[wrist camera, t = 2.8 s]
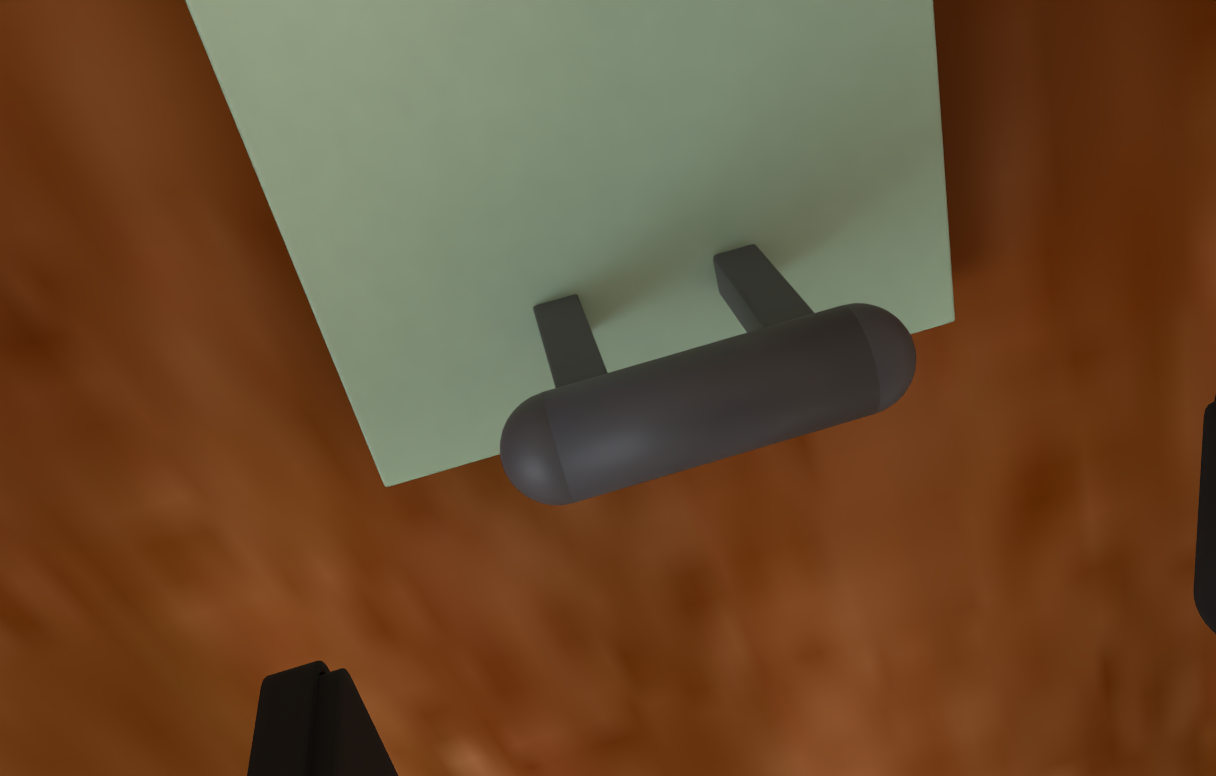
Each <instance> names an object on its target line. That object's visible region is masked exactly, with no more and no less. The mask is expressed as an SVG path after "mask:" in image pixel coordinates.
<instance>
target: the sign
mask: <svg viewBox="0 0 1216 776" xmlns="http://www.w3.org/2000/svg"><path fill="white" fill-rule="evenodd" d="M185 1H186V4H187V6H188V8H189V11H190V13H191V16H192V18H193V21H194V23H195V26H196V28H197V30H198V33H199V35H200V38H201V40H202V43H203V45H204V47H205V50H206V52H207V55H208V57H209V60H210V62H211V65H212V67H213V69H214V72H215V74H216V77H217V79H218V82H219V84H220V86H221V89H222V91H223V94H224V96H225V99H226V101H227V104H228V106H229V108H230V111H231V113H232V116H233V118H234V121H235V123H236V125H237V128H238V130H239V133H240V135H241V138H242V140H243V143H244V145H245V147H246V150H247V152H248V155H249V157H250V160H251V162H252V164H253V167H254V169H255V172H256V174H257V177H258V179H259V181H260V184H261V186H262V189H263V191H264V194H265V196H266V199H267V201H268V203H269V206H270V208H271V211H272V213H273V216H274V218H275V220H276V223H277V225H278V228H279V230H280V233H281V235H282V238H283V240H284V242H285V245H286V247H287V250H288V252H289V255H290V257H291V259H292V262H293V264H294V267H295V269H296V272H297V274H298V277H299V279H300V281H301V284H302V286H303V289H304V291H305V294H306V296H307V298H308V301H309V303H310V306H311V308H312V311H313V313H314V316H315V318H316V320H317V323H318V325H319V328H320V330H321V333H322V335H323V337H324V340H325V342H326V345H327V347H328V350H329V352H330V354H331V357H332V359H333V362H334V364H335V367H336V369H337V372H338V374H339V376H340V379H341V381H342V384H343V386H344V389H345V391H346V393H347V396H348V398H349V401H350V403H351V406H352V408H353V411H354V413H355V415H356V418H357V420H358V423H359V425H360V428H361V430H362V432H363V435H364V437H365V440H366V442H367V445H368V447H369V450H370V452H371V454H372V457H373V459H374V462H375V464H376V467H377V469H378V471H379V474H380V476H381V479H382V481H383V484H384V485H385V486H386V487H389V486H392V485H396V484H399V483H403V482H406V481H410V480H413V479H416V478H420V477H423V476H427V475H430V474H434V473H437V472H440V471H444V470H447V469H451V468H454V467H458V466H461V465H464V464H468V463H471V462H475V461H478V460H481V459H485V458H488V457H492V456H495V455H499V454H500V456H501V461H502V465H503V468H504V470H505V473H506V475H507V476H508V478H509V479H510V481H511V483H512V484H513V485H514V486H515V487H516V488H517V489H518V490H519V491H520V492H521V493H523V494H524V495H526V496H527V497H529V498H530V499H533V500H535V501H537V502H540V503H544V504H549V505H565V504H570V503H574V502H578V501H581V500H585V499H588V498H591V497H595V496H598V495H602V494H605V493H608V492H612V491H615V490H619V489H622V488H625V487H629V486H632V485H635V484H639V483H642V482H646V481H649V480H652V479H656V478H659V477H663V476H666V475H669V474H673V473H676V472H679V471H683V470H686V469H690V468H693V467H696V466H700V465H703V464H707V463H710V462H713V461H717V460H720V459H724V458H727V457H730V456H734V455H737V454H740V453H744V452H747V451H751V450H754V449H757V448H761V447H764V446H768V445H771V444H774V443H778V442H781V441H784V440H788V439H791V438H795V437H798V436H801V435H805V434H808V433H812V432H815V431H818V430H822V429H825V428H828V427H832V426H835V425H839V424H842V423H845V422H849V421H852V420H856V419H859V418H862V417H866V416H869V415H873V414H876V413H878V412H880V411H883V410H885V409H887V408H888V407H890V406H891V405H893V404H894V403H896V402H897V401H898V400H899V399H900V398H901V397H902V396H903V395H904V393H905V392H906V390H907V388H908V387H909V385H910V384H911V381H912V378H913V376H914V373H915V366H916V351H915V346H914V343H913V340H912V337H911V335H910V334H913V333H916V332H920V331H923V330H926V329H930V328H933V327H937V326H940V325H943V324H947V323H950V322H953V321H954V320H955V314H954V299H953V285H952V270H951V256H950V241H949V226H948V212H947V197H946V183H945V168H944V154H943V139H942V125H941V110H940V95H939V81H938V66H937V52H936V37H935V23H934V8H933V0H185Z"/></svg>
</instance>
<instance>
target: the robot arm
mask: <svg viewBox="0 0 1216 776" xmlns="http://www.w3.org/2000/svg"><path fill="white" fill-rule="evenodd" d="M1194 600H1195V604H1196V607H1197V609H1198V611H1199V614H1200V616H1201V617H1202V619H1203V620H1204V622H1205V623H1206V624H1207V625H1208V626H1209V628H1210V629H1211V630H1212V631H1213V632H1214V633H1215V634H1216V396H1215V400H1214V402H1213V403H1211V404H1209V405H1208V406H1207V408H1206V409H1205V414H1204V424H1203V441H1202V458H1201V475H1200V491H1199V508H1198V525H1197V542H1196V559H1195V576H1194ZM247 776H398V774H397V772H396V770H395V768H394V766H393V764H392V762H391V760H390V757H389V755H388V753H387V751H386V749H385V747H384V745H383V743H382V741H381V739H380V737H379V735H378V732H377V730H376V728H375V726H374V724H373V722H372V720H371V718H370V716H369V714H368V712H367V709H366V707H365V705H364V703H363V701H362V699H361V697H360V695H359V693H358V691H357V689H356V686H355V684H354V682H353V680H352V678H351V676H350V675H349V673H348V671H347V670H346V669H343V668H342V669H338V670H335V671H332V672H330V671H329V669H328V667H327V666H326V664H325V663H323V662H322V661H315V662H312V663H309V664H305V665H302V666H299V667H295V668H292V669H289V670H286V671H282V672H279V673H276V674H272V675H269V676H266V678H265V679H264V680H263V682H262V686H261V690H260V697H259V703H258V710H257V716H256V723H255V729H254V735H253V742H252V748H251V755H250V761H249V767H248V774H247Z"/></svg>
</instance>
